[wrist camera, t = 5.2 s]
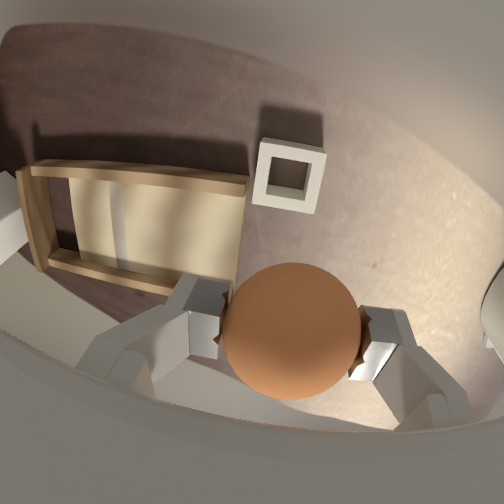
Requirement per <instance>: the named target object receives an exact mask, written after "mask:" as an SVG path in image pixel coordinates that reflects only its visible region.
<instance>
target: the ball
mask: <svg viewBox="0 0 504 504" xmlns="http://www.w3.org/2000/svg"><path fill="white" fill-rule="evenodd" d="M360 341H361V321H360V314H359V311H358V308H357V305H356V303H355V301H354V299H353V297H352V295H351V294H350V292H349V291H348V289H347V288H346V287H345V286H344V285H343V284H342V282H340V281H339V280H338V279H337V278H336V277H335V276H333V275H332V274H330V273H329V272H327V271H325V270H323V269H321V268H318V267H316V266H313V265H309V264H303V263H283V264H278V265H273V266H271V267H268V268H265V269H263V270H261V271H259V272H257V273H256V274H254V275H253V276H251V277H250V278H249V279H248V280H246V281H245V282H244V283H243V284H242V285H241V286H240V287H239V289H238V290H237V291H236V292H235V294H234V295H233V297H232V299H231V300H230V302H229V305H228V307H227V310H226V312H225V316H224V322H223V343H224V349H225V352H226V355H227V358H228V360H229V363H230V364H231V366H232V367H233V369H234V371H235V372H236V373H237V375H238V376H239V377H240V378H241V379H242V380H243V381H244V382H245V383H246V384H247V385H249V386H250V387H252V388H253V389H254V390H256V391H258V392H260V393H262V394H264V395H267V396H270V397H273V398H278V399H285V400H296V399H303V398H308V397H312V396H315V395H317V394H320V393H322V392H324V391H325V390H327V389H329V388H330V387H332V386H333V385H334V384H336V383H337V382H338V381H339V380H340V379H341V378H342V377H343V376H344V375H345V374H346V372H347V371H348V370H349V368H350V367H351V365H352V363H353V361H354V359H355V357H356V355H357V352H358V349H359V345H360Z"/></svg>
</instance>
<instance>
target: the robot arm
mask: <svg viewBox="0 0 504 504" xmlns="http://www.w3.org/2000/svg"><path fill="white" fill-rule="evenodd" d="M231 294H232V282H227V281H222V280H218V279H213V278H209V277H204V276H199V275H194V274H189V273H184V274H183V275H182V276H181V278H180V279H179V281H178V283H177V285H176V286H175V288H174V290H173V292H172V293H171V295H170V297H169V299H168V300H167V302H166V304H165V305H158V306H156V307H154V308H152V309H150V310H148V311H146V312H144V313H142V314H140V315H138V316H136V317H134V318H132V319H130V320H127V321H125V322H123V323H121V324H119V325H117V326H115V327H113V328H111V329H109V330H107V331H105V332H103V333H101V334H99V335H97V336H96V337H95V338H94V339H93V341H92V342H91V344H90V345H89V347H88V348H87V350H86V351H85V353H84V354H83V356H82V358H81V359H80V361H79V362H78V364H77V365H76V367H75V368H74V367H72V366H70V365H67V364H65V363H63V362H61V361H59V360H57V359H55V358H53V357H51V356H49V355H47V354H45V353H43V352H41V351H40V350H38V349H36V348H34V347H32V346H30V345H28V344H26V343H25V342H23V341H21V340H19V339H18V338H16V337H15V336H13V335H11V334H10V333H7V332H6V331H5V330H3V329H1V328H0V504H504V416H503V417H499V418H495V419H490V420H485V421H480V422H475V421H474V417H473V413H472V410H471V407H470V403H469V400H468V397H467V393H466V391H465V390H464V389H463V388H462V387H461V386H460V385H459V384H458V383H457V382H456V381H455V380H454V379H453V378H452V377H451V376H450V375H449V374H448V373H447V372H446V371H445V370H444V369H443V368H442V367H441V366H440V365H439V364H438V363H437V362H436V361H435V360H434V359H433V358H432V357H431V356H430V355H429V354H428V353H427V352H426V351H425V350H424V349H423V348H422V347H421V346H417V344H416V341H415V338H414V335H413V332H412V329H411V326H410V323H409V320H408V318H407V315H406V312H405V311H404V310H400V309H391V308H390V309H387V308H380V307H373V306H366V305H361V306H360V307H359V308H358V311H359V314H360V321H361V341H360V345H359V349H358V352H357V355H356V357H355V359H354V361H353V363H352V365H351V367H350V368H349V370H348V374H349V379H350V380H359V381H369V382H373V384H374V386H375V387H376V389H377V390H378V392H379V393H380V395H381V396H382V398H383V399H384V401H385V402H386V404H387V405H388V407H389V408H390V410H391V411H392V413H393V414H394V416H395V417H396V419H397V420H398V422H399V423H400V424H399V425H398V426H397V427H396V428H395V429H394V430H392V431H372V432H371V431H366V432H365V431H333V430H317V429H305V428H296V427H287V426H279V425H271V424H265V423H258V422H252V421H246V420H241V419H235V418H230V417H225V416H221V415H216V414H211V413H207V412H203V411H199V410H195V409H191V408H187V407H183V406H180V405H176V404H172V403H169V402H166V401H162V400H159V399H157V398H156V395H155V391H154V387H153V383H154V382H156V381H157V380H158V379H160V378H161V377H162V376H164V375H165V374H166V373H167V372H169V371H170V370H171V369H173V368H174V367H175V366H177V365H178V364H179V363H180V362H182V361H183V360H184V359H186V358H187V357H188V356H189V355H190V354H193V355H198V356H202V357H207V358H212V359H217V358H218V355H219V351H220V348H221V345H222V337H223V322H224V316H225V312H226V310H227V307H228V305H229V301H230V298H231ZM481 324H482V326H483V328H484V330H485V336H484V344H485V345H486V347H487V348H493V347H494V349H495V350H496V352H497V354H498V355H499V357H500V359H501V360H502V362H503V363H504V267H503V269H502V270H501V271H500V273H499V274H498V275H497V277H496V278H495V280H494V281H493V283H492V285H491V287H490V288H489V290H488V292H487V294H486V297H485V299H484V302H483V305H482V309H481Z"/></svg>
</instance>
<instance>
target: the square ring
mask: <svg viewBox="0 0 504 504" xmlns="http://www.w3.org/2000/svg"><path fill="white" fill-rule="evenodd" d="M272 156H273V157H279V158H284V159H290V160H296V161H301V162H306V163H309V164H308V169H307V174H306V179H305V184H304V189H303V190H298V189H293V188H287V187H282V186H276V185H270V184H268V181H269V174H270V168H271V161H272ZM326 157H327V153H326V151H325V150H324V148H322V147H317V146H312V145H307V144H301V143H296V142H290V141H285V140H279V139H272V138H266V137H263V138H262V140H261V142H260V148H259V155H258V162H257V169H256V177H255V184H254V191H253V199H252V204H258V205H264V206H270V207H276V208H281V209H287V210H293V211H298V212H304V213H309V214H314V212H315V207H316V203H317V199H318V194H319V190H320V185H321V181H322V176H323V171H324V167H325V162H326Z"/></svg>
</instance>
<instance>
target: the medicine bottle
mask: <svg viewBox="0 0 504 504" xmlns="http://www.w3.org/2000/svg"><path fill="white" fill-rule="evenodd" d="M27 242H28V237H27V233H26V229H25V224H24V219H23V215H22V210H21V204H20V199H19V193H18V187H17V180H16V179H15V178H14V177H13V176H12V175H10V174H9V173H8V172H7V171H3V172H1V173H0V265H1V264H2V263H3V262H4V261H5V260H7V259H8V258H9V257H10V256H11V255H12V254H13V253H15V252H16V251H17V250H18V249H19V248H21V247H22V246H23V245H24V244H25V243H27Z"/></svg>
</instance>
